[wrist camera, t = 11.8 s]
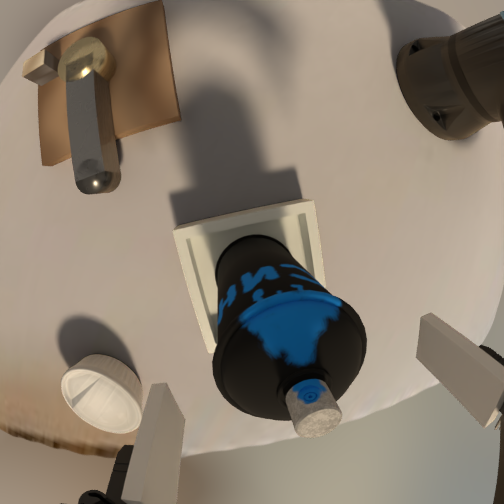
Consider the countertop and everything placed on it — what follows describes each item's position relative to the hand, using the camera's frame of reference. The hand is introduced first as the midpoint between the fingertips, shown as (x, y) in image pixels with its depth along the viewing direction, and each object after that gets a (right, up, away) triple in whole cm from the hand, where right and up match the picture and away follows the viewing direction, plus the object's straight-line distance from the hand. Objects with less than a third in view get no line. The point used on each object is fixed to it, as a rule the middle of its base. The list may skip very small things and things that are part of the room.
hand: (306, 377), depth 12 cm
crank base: (-19, +25, +11) cm, 33 cm away
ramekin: (-22, -11, +19) cm, 31 cm away
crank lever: (-18, +19, +10) cm, 28 cm away
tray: (-2, +4, +17) cm, 18 cm away
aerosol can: (-2, +4, +17) cm, 17 cm away
